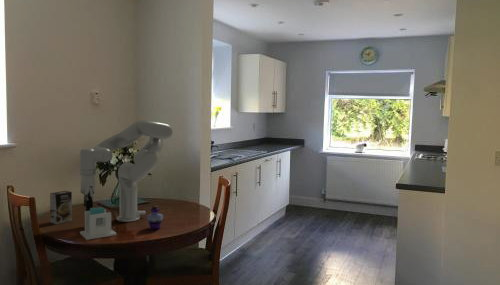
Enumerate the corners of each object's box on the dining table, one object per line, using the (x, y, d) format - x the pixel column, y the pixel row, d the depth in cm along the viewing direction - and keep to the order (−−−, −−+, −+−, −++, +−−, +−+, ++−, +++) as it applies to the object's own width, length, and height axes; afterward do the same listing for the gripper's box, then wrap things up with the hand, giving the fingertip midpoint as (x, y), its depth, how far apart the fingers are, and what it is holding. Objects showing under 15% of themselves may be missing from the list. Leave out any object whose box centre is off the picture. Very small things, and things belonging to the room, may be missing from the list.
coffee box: (57, 224, 214) (56, 194, 212) (49, 222, 217) (49, 192, 216) (72, 220, 221) (72, 191, 220) (65, 218, 225) (64, 190, 224)
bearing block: (108, 228, 208) (108, 207, 207) (116, 234, 198) (116, 212, 197) (79, 233, 199) (79, 211, 199) (86, 239, 190) (86, 216, 189)
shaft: (90, 214, 214) (90, 192, 213) (102, 224, 197) (102, 199, 196) (84, 215, 212) (84, 192, 211) (96, 225, 195) (96, 200, 194)
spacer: (101, 214, 202) (101, 206, 202) (104, 216, 199) (104, 208, 199) (90, 216, 199) (89, 208, 199) (92, 218, 196) (92, 210, 196)
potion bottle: (156, 225, 216) (156, 203, 215) (166, 228, 211) (167, 205, 210) (142, 228, 209) (142, 205, 208) (153, 232, 204) (153, 208, 203)
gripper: (76, 170, 214) (76, 204, 216) (84, 174, 201) (85, 211, 203) (90, 169, 219) (91, 203, 220) (100, 173, 206) (100, 209, 207)
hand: (88, 206), depth 212 cm, fingers closed on shaft, 3 cm apart
